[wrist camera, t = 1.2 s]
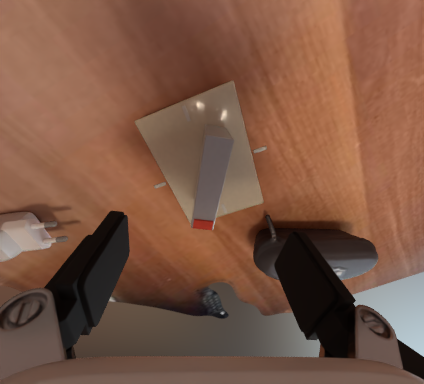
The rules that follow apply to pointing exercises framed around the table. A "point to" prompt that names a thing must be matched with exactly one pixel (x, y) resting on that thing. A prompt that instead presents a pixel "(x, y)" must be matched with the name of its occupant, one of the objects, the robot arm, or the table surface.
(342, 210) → the table surface
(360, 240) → the glasses case
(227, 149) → the grey red-tipped bar
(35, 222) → the power adapter
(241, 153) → the base
